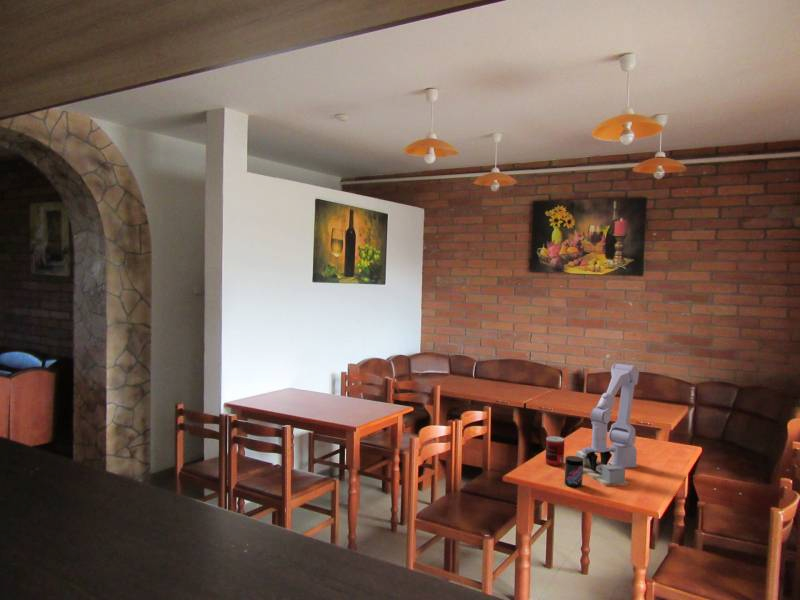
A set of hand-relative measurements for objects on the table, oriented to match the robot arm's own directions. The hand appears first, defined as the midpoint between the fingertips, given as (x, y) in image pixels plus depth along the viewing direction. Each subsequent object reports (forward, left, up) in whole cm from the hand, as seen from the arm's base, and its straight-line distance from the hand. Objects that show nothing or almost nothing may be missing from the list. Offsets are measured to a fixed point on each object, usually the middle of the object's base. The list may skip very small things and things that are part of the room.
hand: (598, 469), depth 237 cm
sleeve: (0, -9, -2) cm, 9 cm away
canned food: (+11, -16, -2) cm, 19 cm away
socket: (0, +10, -1) cm, 10 cm away
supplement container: (+17, +9, -2) cm, 19 cm away
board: (0, 0, -2) cm, 2 cm away
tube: (0, -2, -1) cm, 2 cm away
